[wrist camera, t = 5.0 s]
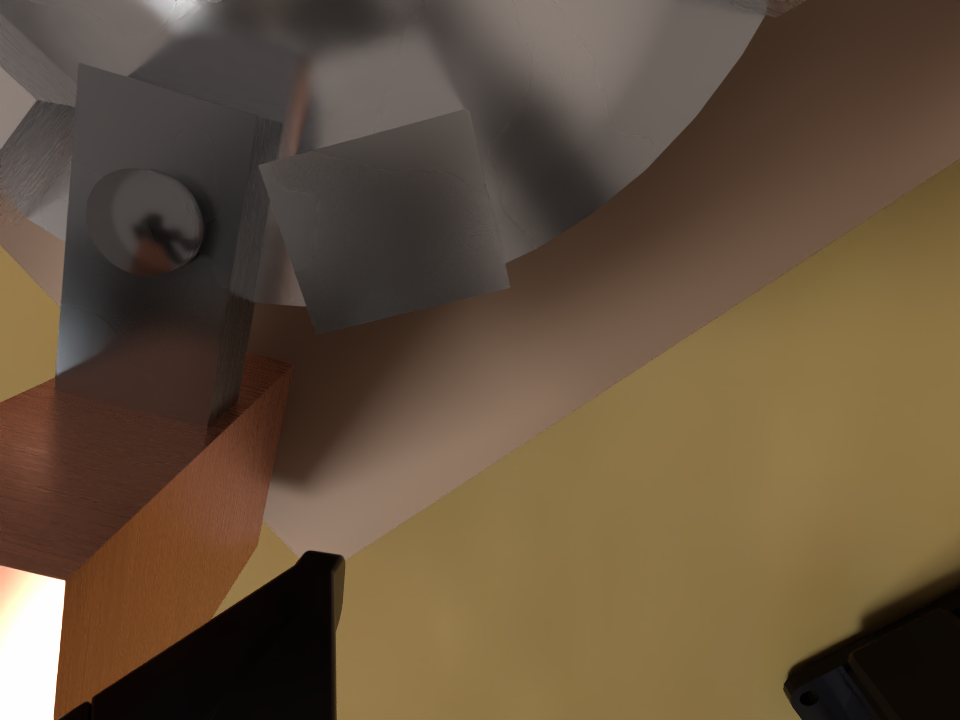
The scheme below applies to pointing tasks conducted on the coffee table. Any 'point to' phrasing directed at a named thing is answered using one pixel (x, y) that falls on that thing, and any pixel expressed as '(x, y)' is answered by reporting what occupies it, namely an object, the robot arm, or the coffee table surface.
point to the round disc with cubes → (271, 251)
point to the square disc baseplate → (604, 270)
